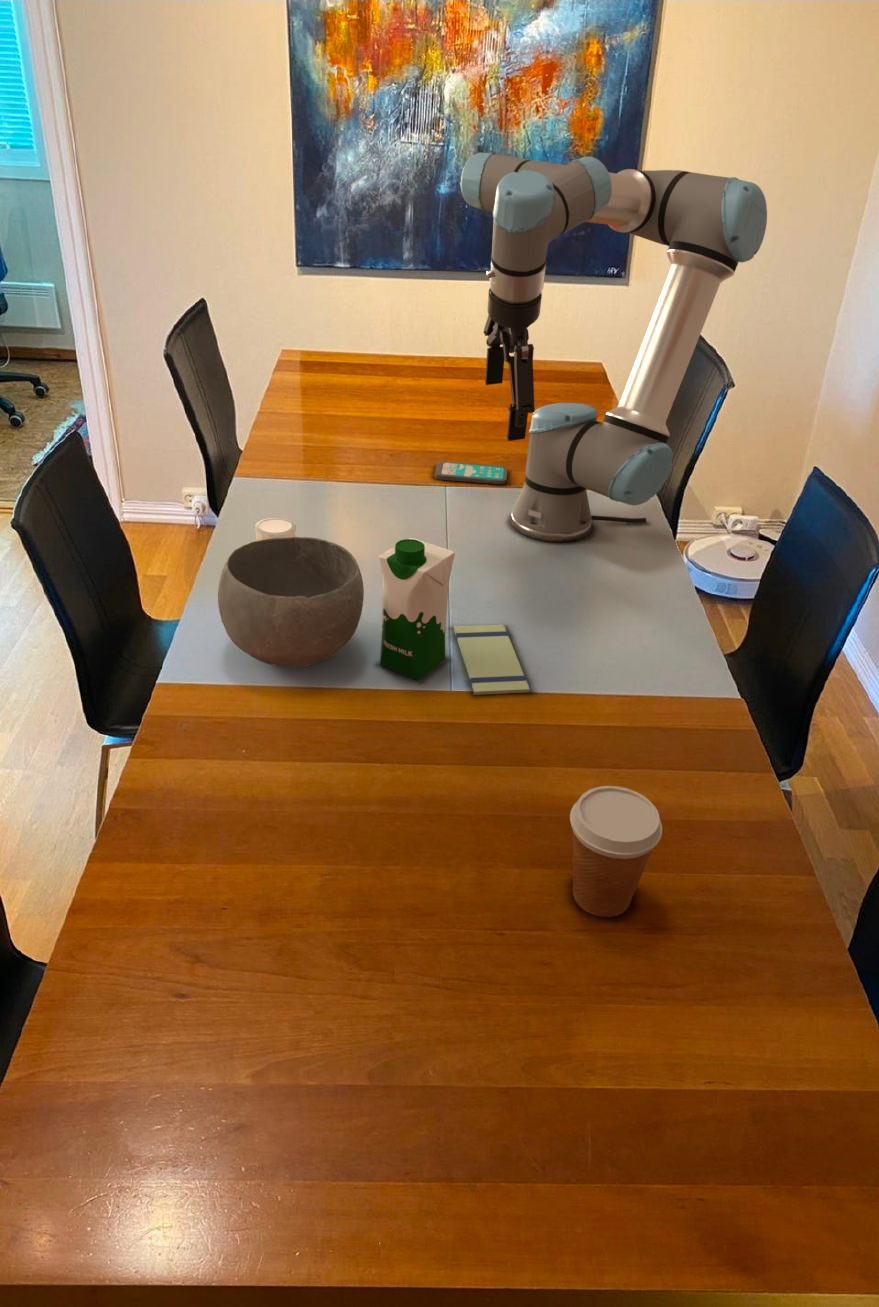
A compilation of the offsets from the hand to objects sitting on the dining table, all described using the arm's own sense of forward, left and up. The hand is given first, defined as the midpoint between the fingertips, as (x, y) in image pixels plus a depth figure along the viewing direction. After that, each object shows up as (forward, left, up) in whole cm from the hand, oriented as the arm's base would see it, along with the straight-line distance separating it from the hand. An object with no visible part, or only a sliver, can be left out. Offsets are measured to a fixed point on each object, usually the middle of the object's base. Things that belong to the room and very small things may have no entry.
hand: (504, 410), depth 155 cm
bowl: (+34, +23, -29) cm, 51 cm away
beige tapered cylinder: (+36, -6, -29) cm, 47 cm away
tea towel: (+5, +27, -29) cm, 40 cm away
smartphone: (-5, -44, -29) cm, 53 cm away
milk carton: (+17, +27, -29) cm, 43 cm away
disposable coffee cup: (+2, +75, -29) cm, 81 cm away
